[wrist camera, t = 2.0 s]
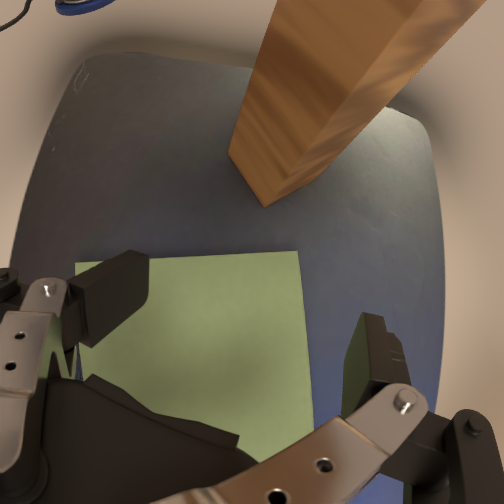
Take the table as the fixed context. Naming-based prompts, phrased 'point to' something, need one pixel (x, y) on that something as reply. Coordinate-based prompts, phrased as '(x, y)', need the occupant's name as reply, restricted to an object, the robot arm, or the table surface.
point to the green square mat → (217, 347)
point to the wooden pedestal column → (330, 81)
